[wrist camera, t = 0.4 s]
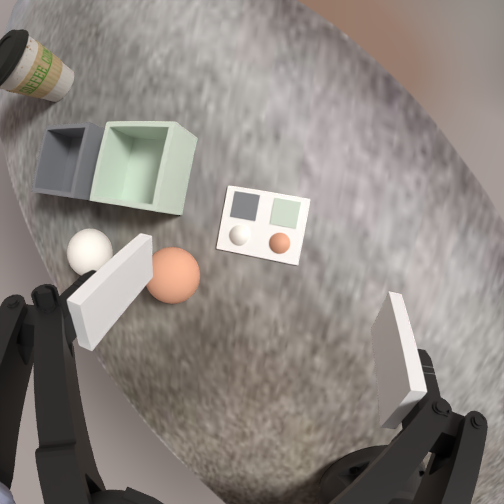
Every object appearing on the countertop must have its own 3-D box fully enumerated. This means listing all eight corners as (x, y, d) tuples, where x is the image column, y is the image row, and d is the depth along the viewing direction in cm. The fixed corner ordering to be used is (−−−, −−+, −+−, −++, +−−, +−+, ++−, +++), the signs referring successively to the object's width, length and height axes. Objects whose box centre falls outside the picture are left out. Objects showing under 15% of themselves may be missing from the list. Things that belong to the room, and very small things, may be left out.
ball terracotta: (203, 303, 35) (181, 315, 29) (157, 291, 37) (130, 299, 31) (212, 252, 35) (190, 254, 29) (165, 241, 36) (137, 242, 30)
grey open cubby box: (103, 202, 38) (73, 197, 32) (60, 195, 40) (31, 191, 34) (117, 135, 37) (90, 122, 31) (73, 135, 39) (46, 125, 33)
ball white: (118, 279, 38) (89, 285, 32) (86, 269, 39) (56, 273, 33) (124, 233, 37) (94, 232, 31) (91, 225, 38) (60, 224, 33)
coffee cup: (78, 99, 39) (9, 67, 24) (39, 119, 41) (-25, 97, 26) (85, 52, 38) (27, 14, 24) (47, 73, 41) (-10, 45, 26)
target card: (297, 265, 33) (297, 265, 33) (217, 248, 35) (216, 248, 34) (310, 199, 32) (310, 198, 32) (228, 185, 34) (227, 185, 34)
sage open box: (181, 215, 35) (156, 211, 30) (119, 204, 37) (89, 200, 31) (197, 138, 35) (175, 121, 29) (134, 135, 36) (106, 121, 31)
